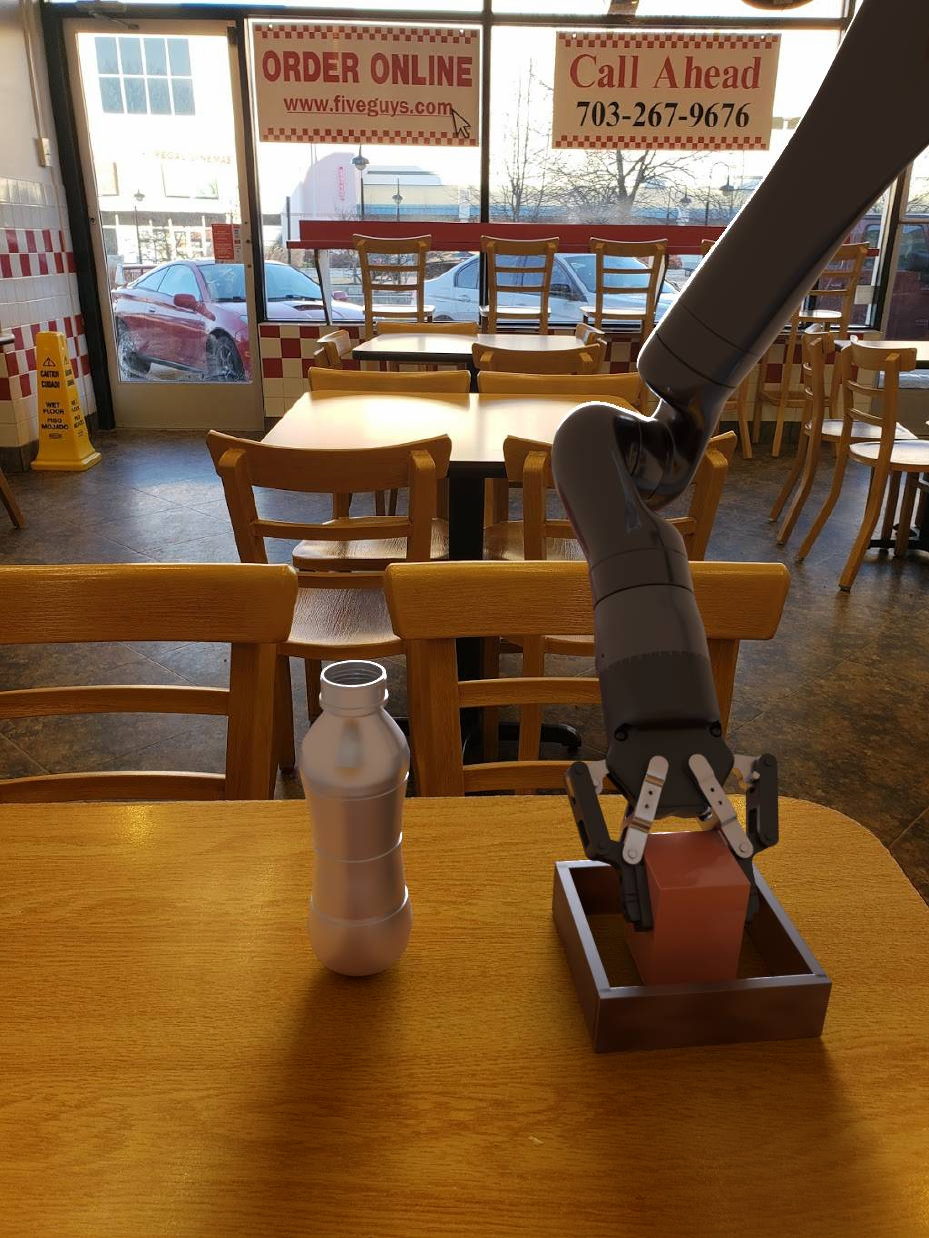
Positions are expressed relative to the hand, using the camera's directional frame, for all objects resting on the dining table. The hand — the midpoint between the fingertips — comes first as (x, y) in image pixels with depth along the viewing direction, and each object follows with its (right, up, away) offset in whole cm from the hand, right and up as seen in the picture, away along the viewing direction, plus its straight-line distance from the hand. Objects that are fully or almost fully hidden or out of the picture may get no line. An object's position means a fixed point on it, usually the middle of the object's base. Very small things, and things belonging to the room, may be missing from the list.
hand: (693, 926), depth 57 cm
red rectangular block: (0, -3, +3) cm, 5 cm away
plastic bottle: (-21, -3, +4) cm, 21 cm away
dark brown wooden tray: (0, -4, +3) cm, 5 cm away
